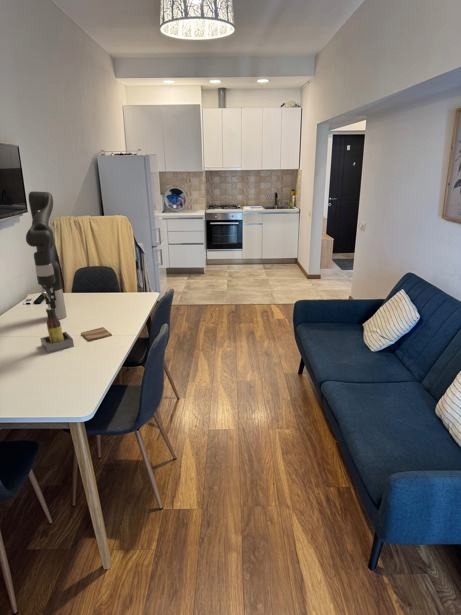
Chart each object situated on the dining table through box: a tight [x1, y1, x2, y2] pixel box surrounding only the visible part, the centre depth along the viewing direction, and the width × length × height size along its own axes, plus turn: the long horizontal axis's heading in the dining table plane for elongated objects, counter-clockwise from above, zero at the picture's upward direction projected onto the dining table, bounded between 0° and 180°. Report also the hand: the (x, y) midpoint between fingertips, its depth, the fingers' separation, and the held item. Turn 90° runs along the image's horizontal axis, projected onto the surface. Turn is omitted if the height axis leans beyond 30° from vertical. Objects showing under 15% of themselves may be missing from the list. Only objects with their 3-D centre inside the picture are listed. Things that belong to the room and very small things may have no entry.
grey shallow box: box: [40, 331, 75, 354], centre depth 204 cm, size 11×12×4 cm
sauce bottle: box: [45, 307, 64, 343], centre depth 201 cm, size 7×6×20 cm
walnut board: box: [80, 326, 113, 342], centre depth 217 cm, size 12×12×1 cm
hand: (51, 306), depth 198 cm, fingers open, 8 cm apart
